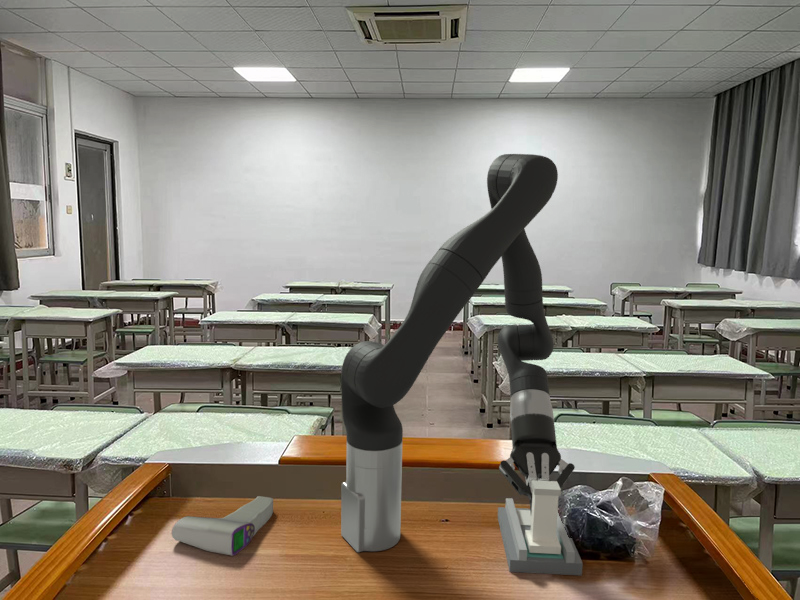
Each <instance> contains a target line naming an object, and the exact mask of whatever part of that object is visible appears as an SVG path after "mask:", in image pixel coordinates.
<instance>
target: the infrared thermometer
mask: <svg viewBox="0 0 800 600" xmlns="http://www.w3.org/2000/svg"><path fill="white" fill-rule="evenodd" d="M273 513H274V498H273V497H269V496H262V495H261V496H260V495H258V496H256V498H255V499H253V500H251V501H250V502H247V503H246V504H244V505H242V506H241V507H239V508H238V509H237V510H235V511H233V512H231V513H229V514H228V515H226V516H224V517H204V516H203V517H202V516H191V515H187V516H184V517H182V518H180V519H179V520H177V522H175V524H174V525H173V527H172V529H171V536H172V539H174V540H175V541H178V542H180V543H184V544H187V545H189V546H193V547H195V548H198V549H200V550H204V551H206V552H211V553H217V554H222V555H226V556H232V557H234V556H235V555H237V554H238V553H239V552H240V551H242V550H244V548H245V547H247V546H248V545H249V544H250V543H251V542H252V539H253V537H254V536H255V535H257V532H258V531H259V530H260V529H261V528H262V527H264V525H265V524H266V523H267V522H268V521H269V520H270V519H271V517H272V516H273Z"/></svg>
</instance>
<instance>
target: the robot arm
mask: <svg viewBox="0 0 800 600" xmlns="http://www.w3.org/2000/svg"><path fill="white" fill-rule="evenodd" d="M558 175H559V174H558V167H557V165H556V164H555V162H554V161H553V160H552V159H551V158H549V157H547V156H544V155H541V154H529V153H528V154H525V153H524V154H523V153H504V154H500V155H499V156H498V157H496V158H495V159H494V160H493V161H492V163H491V164H490V166H489V168H488V171H487V178H486V184H487V185H486V187H487V194H488V198H489V199H488V200H489V205H490V210H489V211H488V212H487V213H485V214H484V215H483V216H481V217H480V218H479V219H477V220H476V221H474V222H472V223H470V224H468V225H467V226H466V227H464V228H462V229H460V231H458V232H457V233H455V234H453V235H452V236H450V237H449V238H448V239H447V240H446V241H445V242H443V244H442V245H441V246H440V247H439V249H437V251H436V252H435V254H433V256H432V258H431V259H430V260H429V261H428V263H427V264H426V266H425V267H424V268H423V270H422V272H421V274H420V275H419V276H418V277H419V278H418V280H417V283H416V286H415V289H414V293H413V297H412V300H411V304H410V307H409V310H408V313H407V314H406V316H405V318H404V320H403V322H402V323H401V324H400V326H399V327H398V328H397V329H396V331H395V332H394V333H393V334H392V336H391V337H390V338H389V340H388V341H387V342H386V343H385V344H382V343H380V342H377V341H373V340H366V341H365V340H364V341H361V342H359V343H356V344H355V345H354V346H353V347H351V348H350V349H349V351H348V352H347V353H346V355H345V357H344V360H343V362H342V365H341V366H342V367H341V374H340V376H341V377H340V378H341V380H340V385H341V387H340V388H341V391H340V392H341V412H342V413H341V414H342V421H343V426H344V427H345V431H346V432H345V433H346V456H345V458H346V459H345V461H346V470H345V471H346V474H345V475H346V477H345V478H346V479H345V481H343V482H341V491H340V492H341V493H340V494H341V497H340V499H341V503H340V504H341V508H340V511H341V514H340V515H341V517H340V520H341V523H340V524H341V525H340V529H341V530H340V535H341V536H342V538H344V540H345V541H346V542H347V543H348V544H349V545H350V546H351V547H352V548H353V549H354V550H355V552H356V553H360V552H380V551H385V550H388V549H391V548H392V547H395V545H397V544H398V543H399V541H400V539H401V526H402V523H401V518H402V478H403V475H402V473H403V467H402V466H403V434H404V433H403V431H404V430H403V424H402V421H401V420H400V418H399V416H398V414H397V412H396V409H395V406H394V405H396V404H398V403H399V402H400V401H401V400H402V399H403V398H404V397H406V395H407V394H408V393H409V391H410V389H412V387H413V385H414V384H415V382H416V381H417V379H418V377H419V375H420V373H421V371H422V370H423V369H424V367H425V365H426V364H427V362H428V359H429V358H430V357H431V355H432V353H433V352H434V350H435V348H436V347H437V345H438V344H439V343H440V341H441V340H442V338H443V337H444V335H445V334H446V332H447V331H448V330H449V328H450V327H451V325H453V322H454V321H455V320H456V318H457V317H458V316H459V314H460V313H461V312H462V311H463V309H464V307H465V306H466V305H467V304H468V303H469V301H470V300H471V299H472V297H473V296H474V295H475V293H476V292H477V291H478V289H479V288H480V287H481V285H482V284H483V283H484V281H485V280H486V279H487V276H488V275H489V273H490V272H491V270H492V269H493V268H494V266H495V265H497V263H498V261H499V260H500V259H501V261H502V269H503V270H502V271H503V288H504V289H503V290H504V304H505V305H504V306H505V311H506V313H507V314H508V315H509V316H511V317H513V318H516V319H517V318H518V319H521V320H522V319H523V320H527V321H530V322H531V323H529V324H518V325H517V324H511V325H506V326H504V327H502V328H501V329H500V331H499V332H498V335H497V346H498V350H499V353H500V355H501V358H502V360H503V363H504V365H505V369H506V370H507V374H508V381H509V392H510V407H509V412H510V413H509V420H510V428H511V429H510V431H511V445H512V449H511V452H510V454H509V457H508V458H507V459H506V460H505V459H504V460H503V459H502V460H501V461H500V463H499V467H498V470H499V472H500V473H501V474H502V476H503V477H504V478H505V479H506V480H507V481H508V483H509V484H510V485H511V487H512V488H513V489H514V490H515V492H517V494H519V495H520V496H525V497H527V498H528V499H529V509H530V512H532V495H533V490H532V487H531V482H532V480H535V481H550V477H551V476H552V474H553V473H554V471H555V469H556V468H557V467H558V472H557V473H558V474H559V477H558V478H557V479H556V481H557V482H558V484H559V487H560V489H561V490H562V487H564V485H565V483H566V482H567V480H568V479H569V478H570V476H571V475H572V473H573V472H574V470H575V469H576V467H575V464H573V463H567V462H566V461H565V460H564V459H562V456H561V452H560V451H559V449H558V447H557V446H558V444H557V438H556V437H557V436H556V427H555V418H554V410H553V406H552V405H553V404H552V401H551V397H550V395H551V394H550V388H549V379H548V378H549V377H548V373H547V371H546V369H545V368H544V367H543V366H541V365H538V364H534V363H528V362H529V361H543V360H547V359H548V358H549V357H550V356H551V355H552V353H553V351H554V348H555V347H554V346H555V345H554V338H553V335H552V333H551V329H550V327H549V324H548V322H547V317H546V313H545V309H544V301H543V300H544V299H543V297H544V296H543V276H542V275H543V274H542V270H541V266H540V263H539V259H538V258H537V255H536V253H535V251H534V249H533V247H532V246H533V245H531V242H530V240H529V238H528V235H527V233H526V229H525V228H526V227H527V226H528V225H529V224H530V223H531V222H532V221H533V220H534V218H536V217H537V215H538V214H539V213H540V212H541V211H542V210H543V209H544V207H545V206H546V205H547V204H548V203H549V201H550V200H551V198H552V196H553V195H554V192H555V190H556V188H557V185H558V179H559V176H558ZM526 361H528V362H526ZM516 468H517V470H518V471H519V472H520V474H521V475H522V476H523V477H524V478H525V482H524V480H523V479H522V478H521V477H520V476H519V474H518V473H517V472H516V471H515V469H516Z"/></svg>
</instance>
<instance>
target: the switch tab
mask: <svg viewBox="0 0 800 600" xmlns="http://www.w3.org/2000/svg"><path fill="white" fill-rule="evenodd" d="M531 487H532V490H533V495H532V512H531V529H530V530H525V539H526V543H527V546H528V550H529V553H547V554H561V545H560V543H559V540H558V538H557V535H556V528H557V513H558V510H559V497H561V496H562V494H561V493H562V488H561V489H560V487H559V484H558V482H557V481H555V480H551V481H550V480H549V481H538V480H537V481H535V480H532V482H531Z"/></svg>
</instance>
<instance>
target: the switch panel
mask: <svg viewBox="0 0 800 600" xmlns="http://www.w3.org/2000/svg"><path fill="white" fill-rule="evenodd" d="M497 520H498V521H497V522H498V524H499V530H500V534H501V538H502V544H503V548H504V553H505V557H506V562H507V566H508V570H509V571H508V572H509V573H527V574H542V575H543V574H547V575H567V576H583V568H584V567H583V565H584V564H583V561H582V559H581V556H580V554H579V551H578V549H577V548H576V544H575V542H574V540H573V537H572V538H569V537H568V535H567V532H566V530H565V528H564V525H563V523H562V521H561V518H560V516H559V513H557V528H556V535H557V538H558V540H559V543H560V545H561V554H547V553H529V550H528V546H527V543H526V539H525V530H530V529H531V512H530V508H528V507H527V508H524V507H523V508H522V507H521V508H520V507H516V506H515V502H514V499H513V497H511V498H510V497H509V498H507V497H506V498H505V506H504V507H502V506H501V507H500V506H498V507H497Z"/></svg>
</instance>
